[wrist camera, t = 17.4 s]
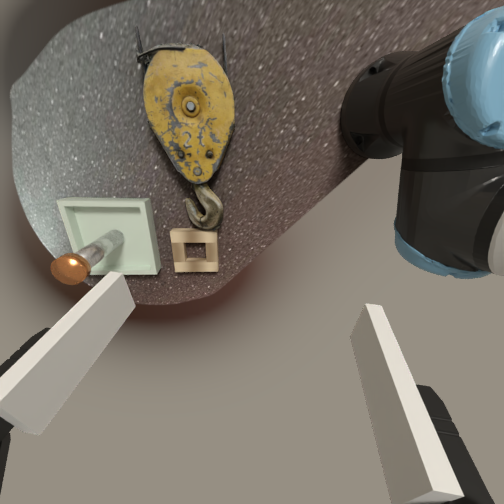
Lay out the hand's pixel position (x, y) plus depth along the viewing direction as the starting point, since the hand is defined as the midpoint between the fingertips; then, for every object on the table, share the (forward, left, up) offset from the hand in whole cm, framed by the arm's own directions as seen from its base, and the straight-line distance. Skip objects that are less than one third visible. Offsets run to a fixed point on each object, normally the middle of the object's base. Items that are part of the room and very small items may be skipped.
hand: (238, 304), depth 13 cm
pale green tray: (+24, +9, -34) cm, 43 cm away
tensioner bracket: (+9, +12, -34) cm, 37 cm away
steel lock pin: (+24, +9, -33) cm, 42 cm away
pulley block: (+7, -8, -35) cm, 36 cm away
